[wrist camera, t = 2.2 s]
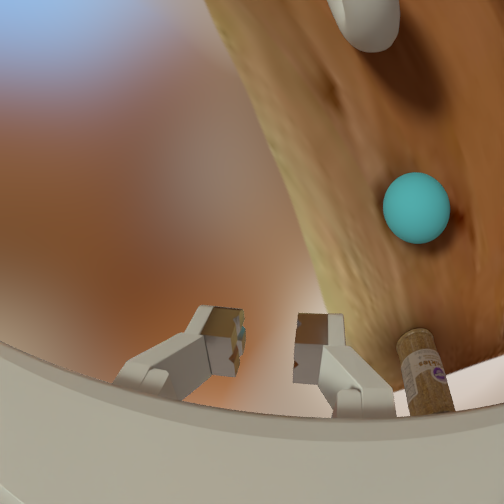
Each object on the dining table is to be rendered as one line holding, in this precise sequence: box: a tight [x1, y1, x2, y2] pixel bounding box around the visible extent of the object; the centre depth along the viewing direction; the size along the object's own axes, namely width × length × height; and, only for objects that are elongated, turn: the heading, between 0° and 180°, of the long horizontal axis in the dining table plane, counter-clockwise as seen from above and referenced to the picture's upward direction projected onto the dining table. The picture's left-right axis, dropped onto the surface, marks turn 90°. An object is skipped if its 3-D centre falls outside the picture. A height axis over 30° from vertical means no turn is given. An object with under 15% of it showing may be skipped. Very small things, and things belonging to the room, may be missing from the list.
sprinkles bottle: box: [396, 328, 455, 416], centre depth 24 cm, size 5×5×13 cm
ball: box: [383, 172, 450, 244], centre depth 21 cm, size 6×6×6 cm
